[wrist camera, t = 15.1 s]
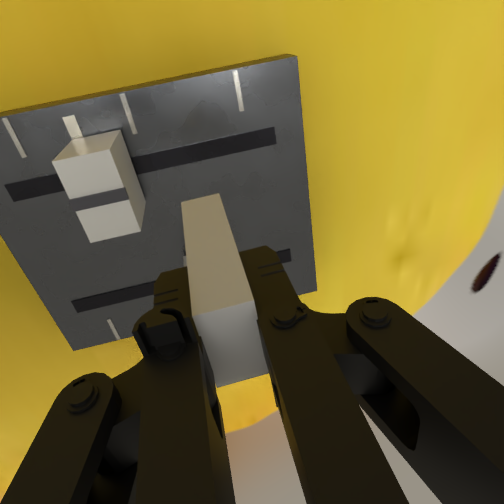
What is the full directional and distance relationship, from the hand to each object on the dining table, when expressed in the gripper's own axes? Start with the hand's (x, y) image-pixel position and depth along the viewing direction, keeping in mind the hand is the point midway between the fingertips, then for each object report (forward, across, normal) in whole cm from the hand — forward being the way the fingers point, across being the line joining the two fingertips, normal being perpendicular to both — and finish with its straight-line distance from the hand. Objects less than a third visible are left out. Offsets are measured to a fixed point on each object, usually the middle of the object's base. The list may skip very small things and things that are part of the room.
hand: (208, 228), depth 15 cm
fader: (+12, -5, 0) cm, 13 cm away
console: (+14, -3, -6) cm, 15 cm away
